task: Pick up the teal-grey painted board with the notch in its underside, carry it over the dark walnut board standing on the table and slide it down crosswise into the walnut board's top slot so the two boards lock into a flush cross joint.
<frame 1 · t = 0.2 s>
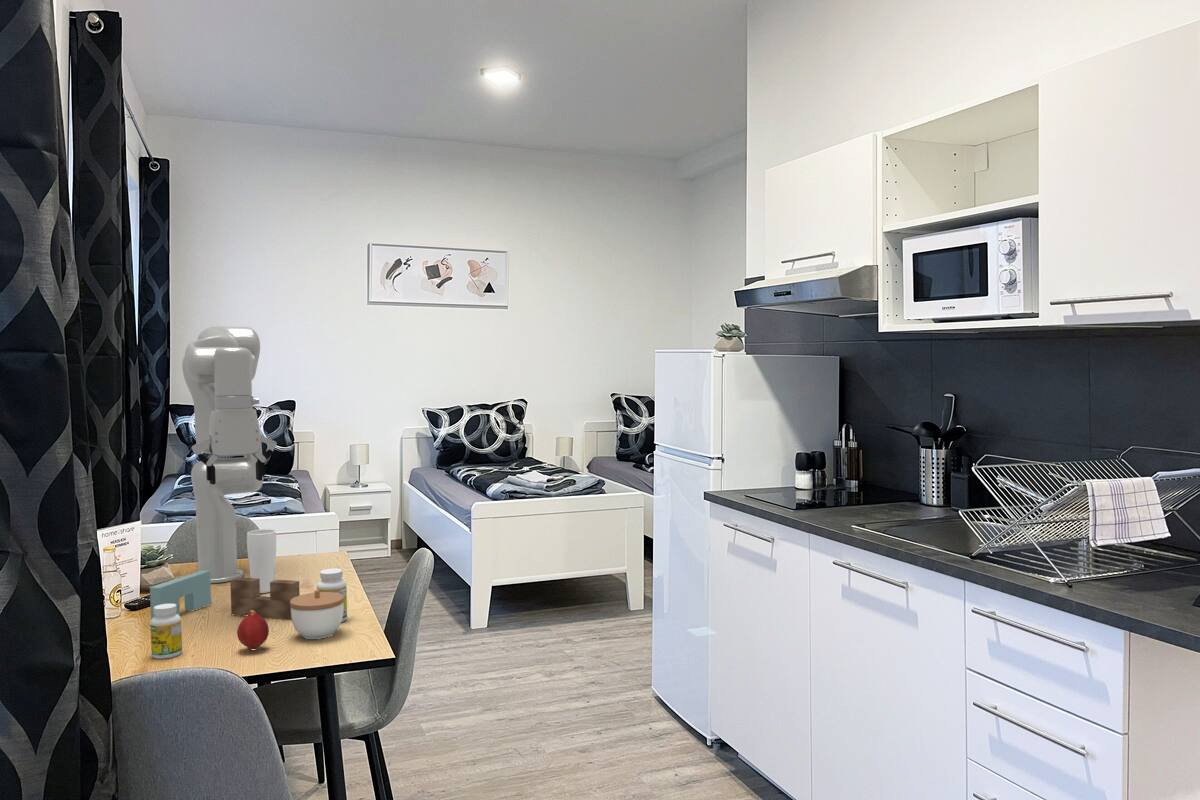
hand: (236, 481, 193), 31 cm above the table, tool pointing down, fingers open, 9 cm apart
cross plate: (182, 613, 200), on the table
lidded jar: (318, 636, 182), on the table
slotted stand: (265, 615, 197), on the table
pill bottle: (332, 621, 193), on the table
supplement bottle: (166, 655, 171), on the table
onion: (253, 651, 173), on the table
drinking glass: (263, 592, 219), on the table
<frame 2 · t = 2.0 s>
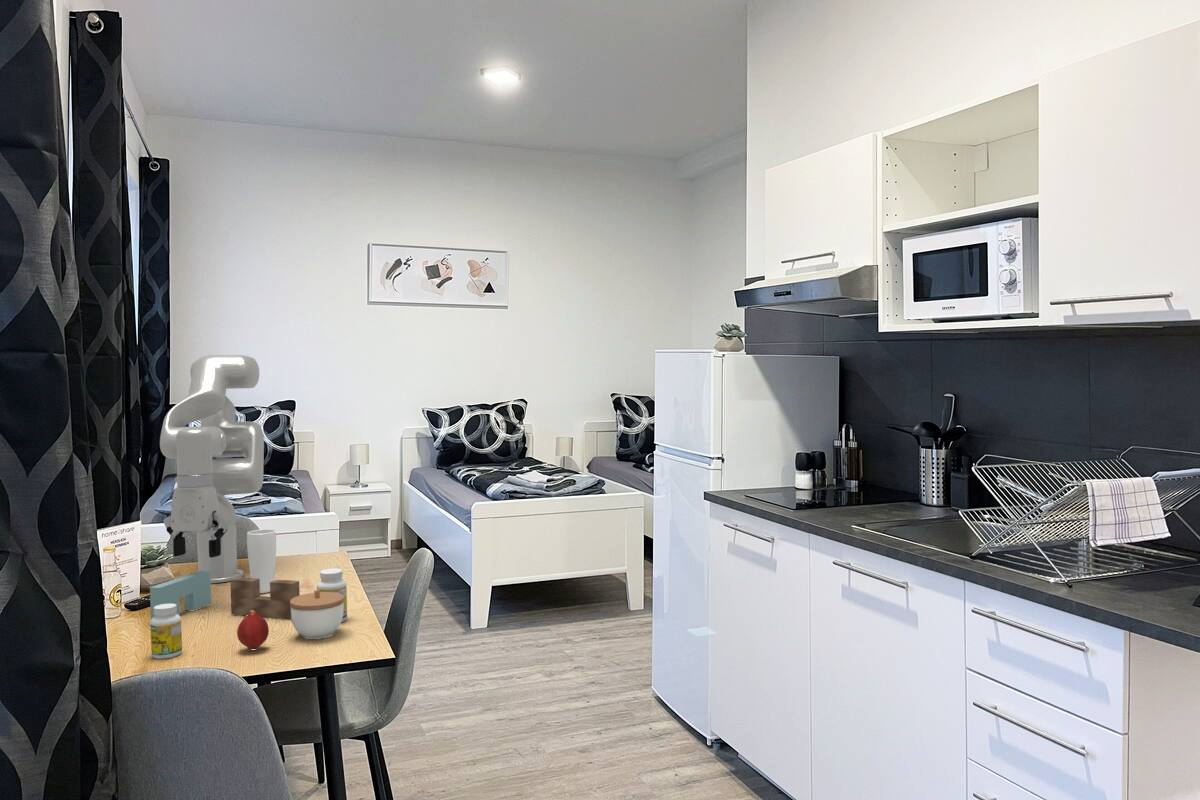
hand: (197, 555, 204), 12 cm above the table, tool pointing down, fingers open, 9 cm apart
nothing on the table moved.
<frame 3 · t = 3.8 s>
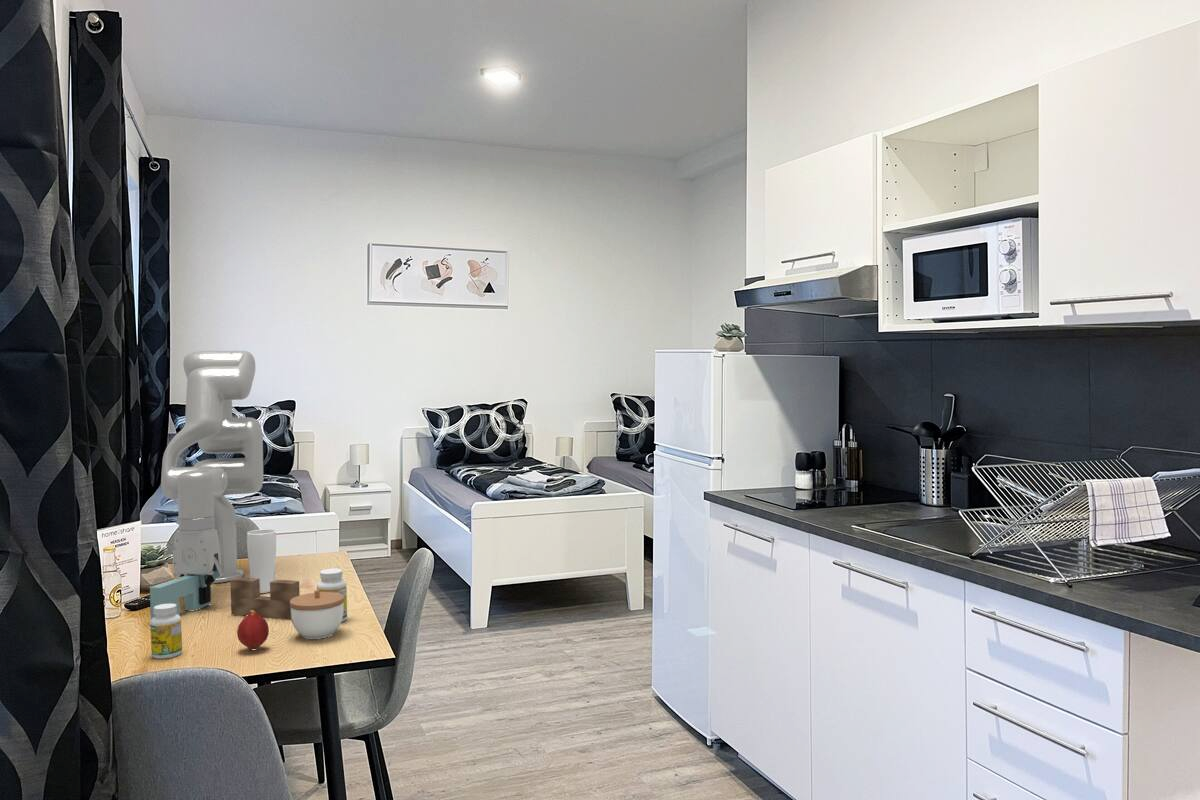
hand: (199, 602, 205), 1 cm above the table, tool pointing down, fingers closed on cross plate, 2 cm apart
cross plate: (182, 613, 200), on the table, touching gripper
everything else where it was.
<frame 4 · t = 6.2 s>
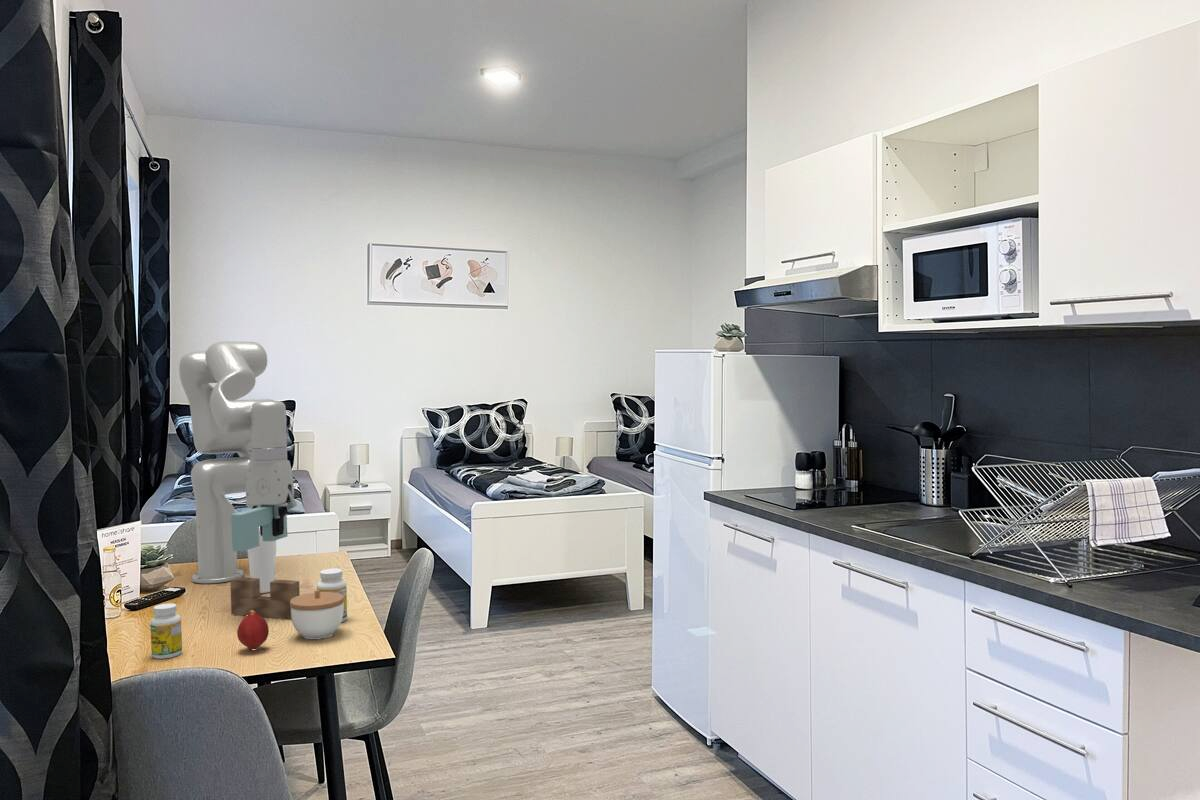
hand: (272, 534, 202), 17 cm above the table, tool pointing down, fingers closed on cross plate, 2 cm apart
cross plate: (261, 543, 198), point 16 cm above the table, touching gripper
everything else where it was.
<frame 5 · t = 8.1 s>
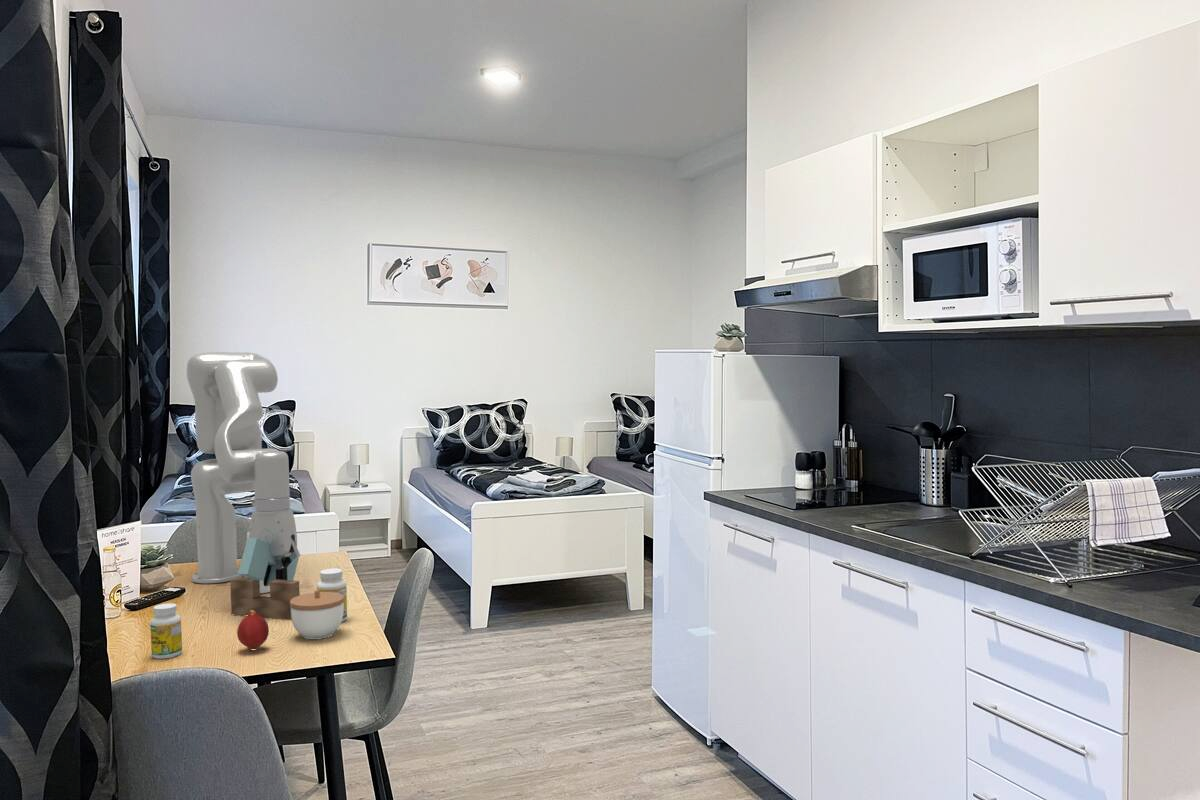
hand: (275, 584, 202), 6 cm above the table, tool pointing down, fingers closed on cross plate, 2 cm apart
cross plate: (265, 582, 199), point 7 cm above the table, tilted 27°, touching gripper, slotted stand
everything else where it was.
when the fingers open (3 cm above the table, at t = 9.0 s): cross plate drops 6 cm, resting on slotted stand.
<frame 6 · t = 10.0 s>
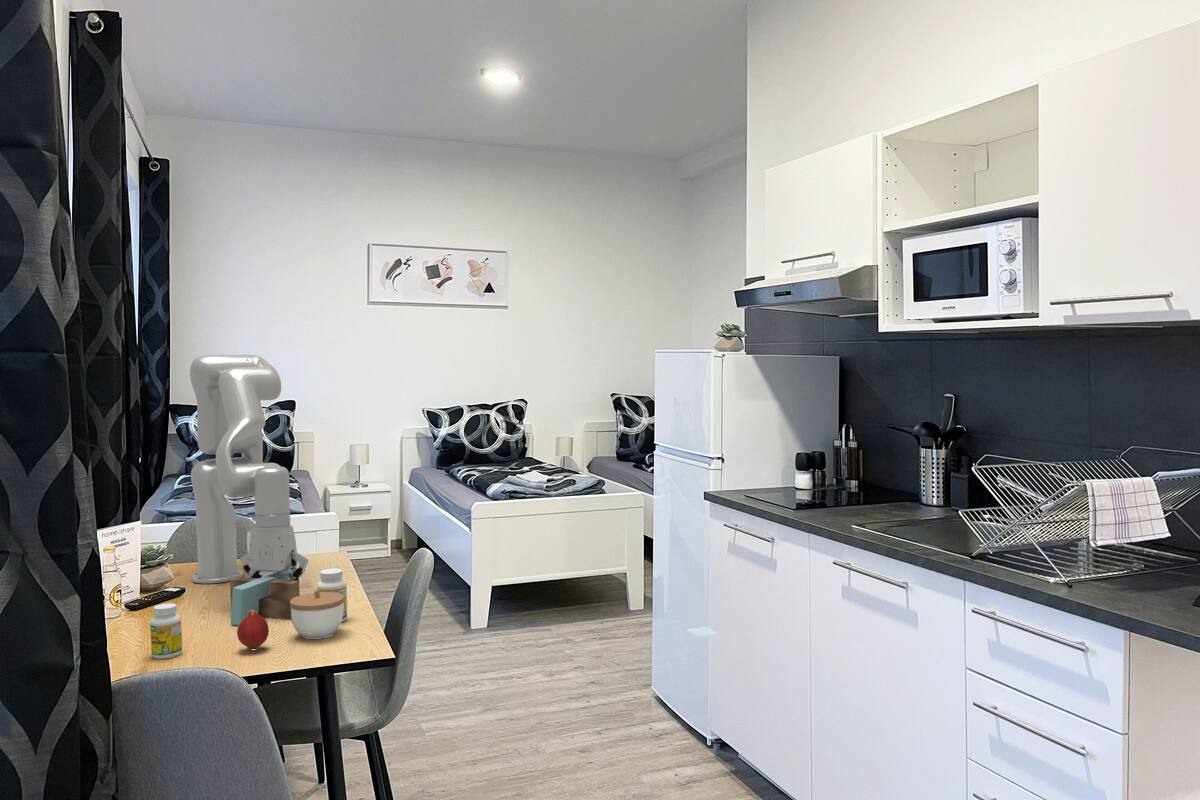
hand: (275, 594, 203), 3 cm above the table, tool pointing down, fingers open, 9 cm apart
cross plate: (260, 614, 198), on the table, tilted 6°, touching slotted stand
everything else where it was.
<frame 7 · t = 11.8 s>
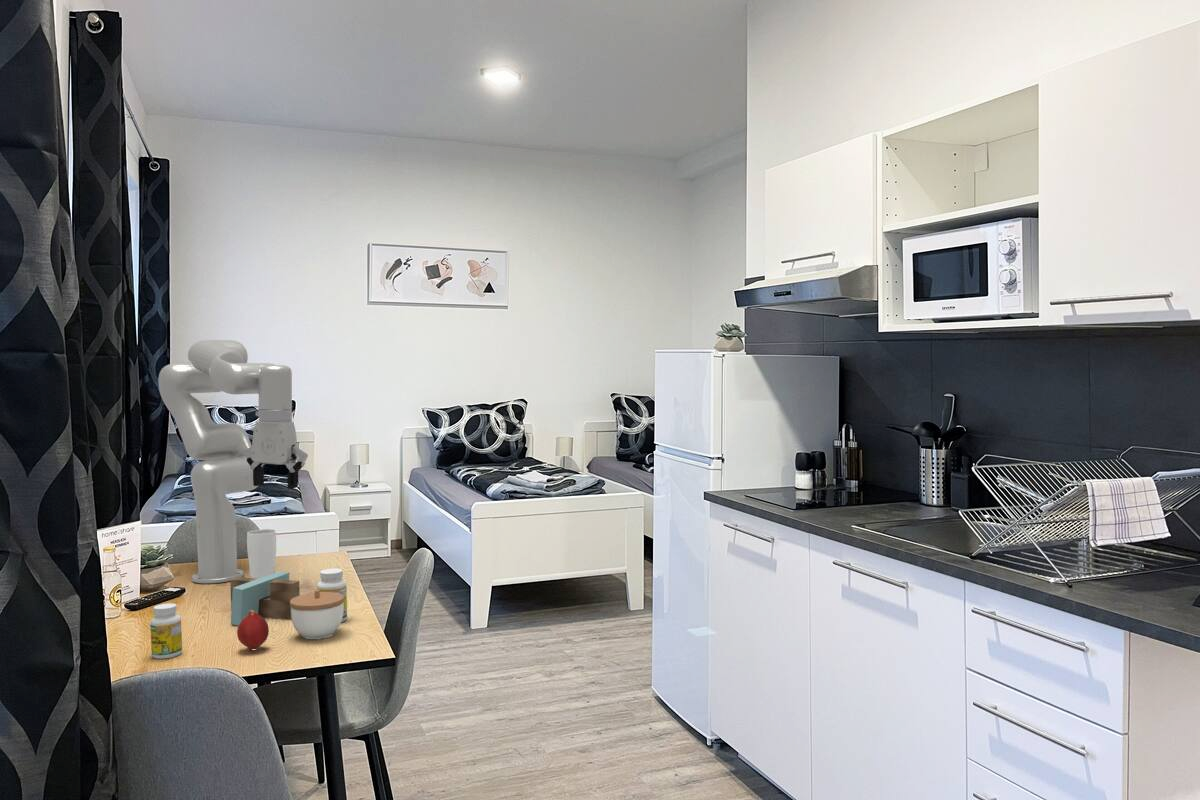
hand: (275, 486, 214), 27 cm above the table, tool pointing down, fingers open, 9 cm apart
nothing on the table moved.
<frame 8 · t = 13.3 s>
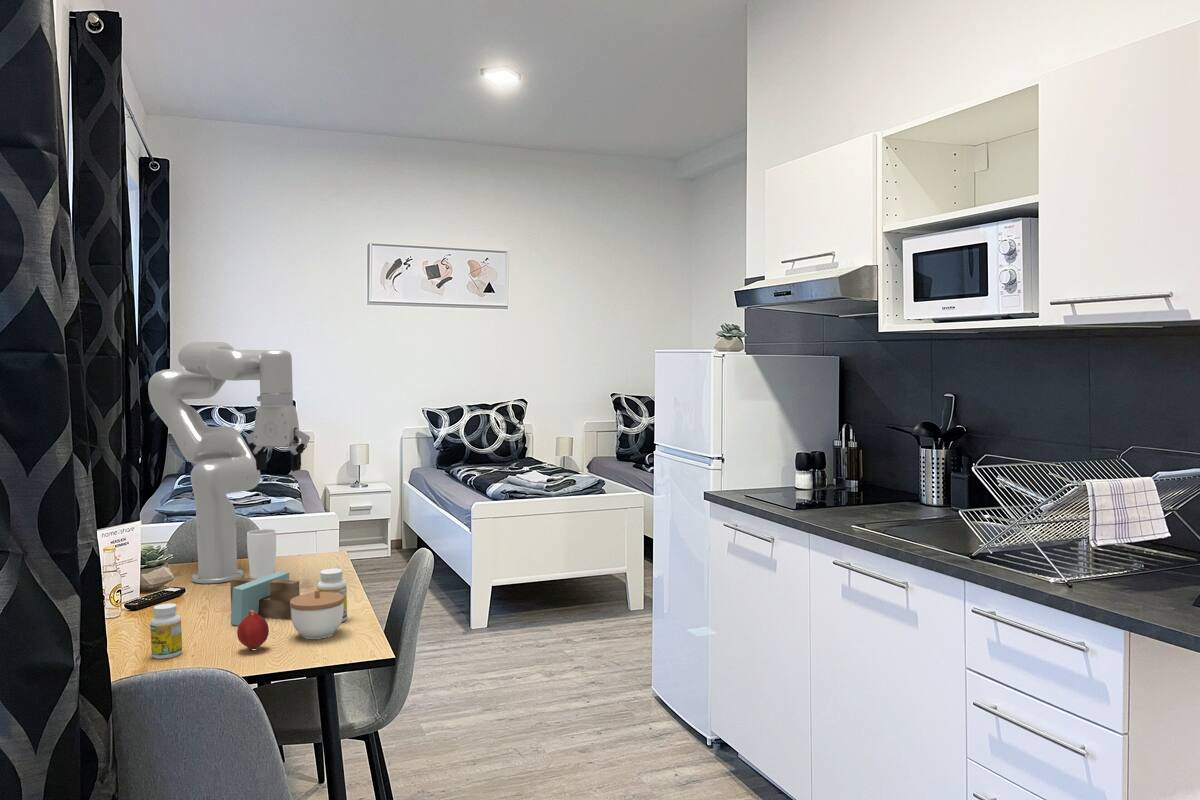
hand: (278, 470, 217), 30 cm above the table, tool pointing down, fingers open, 9 cm apart
nothing on the table moved.
at the end: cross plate 1.4 cm off-centre on the slotted stand, point 0.1 cm above the slotted stand's base; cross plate tilted 6°; the gripper is holding nothing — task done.
